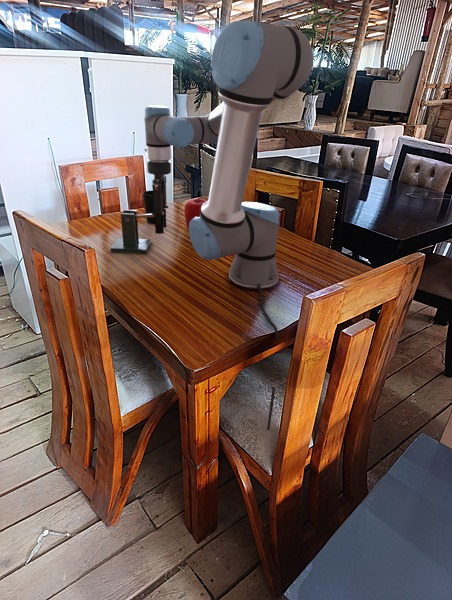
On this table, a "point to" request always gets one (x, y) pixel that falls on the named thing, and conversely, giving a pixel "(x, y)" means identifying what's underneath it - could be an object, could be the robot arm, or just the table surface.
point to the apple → (193, 209)
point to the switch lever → (144, 215)
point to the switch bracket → (130, 236)
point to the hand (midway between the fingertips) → (161, 230)
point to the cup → (149, 205)
